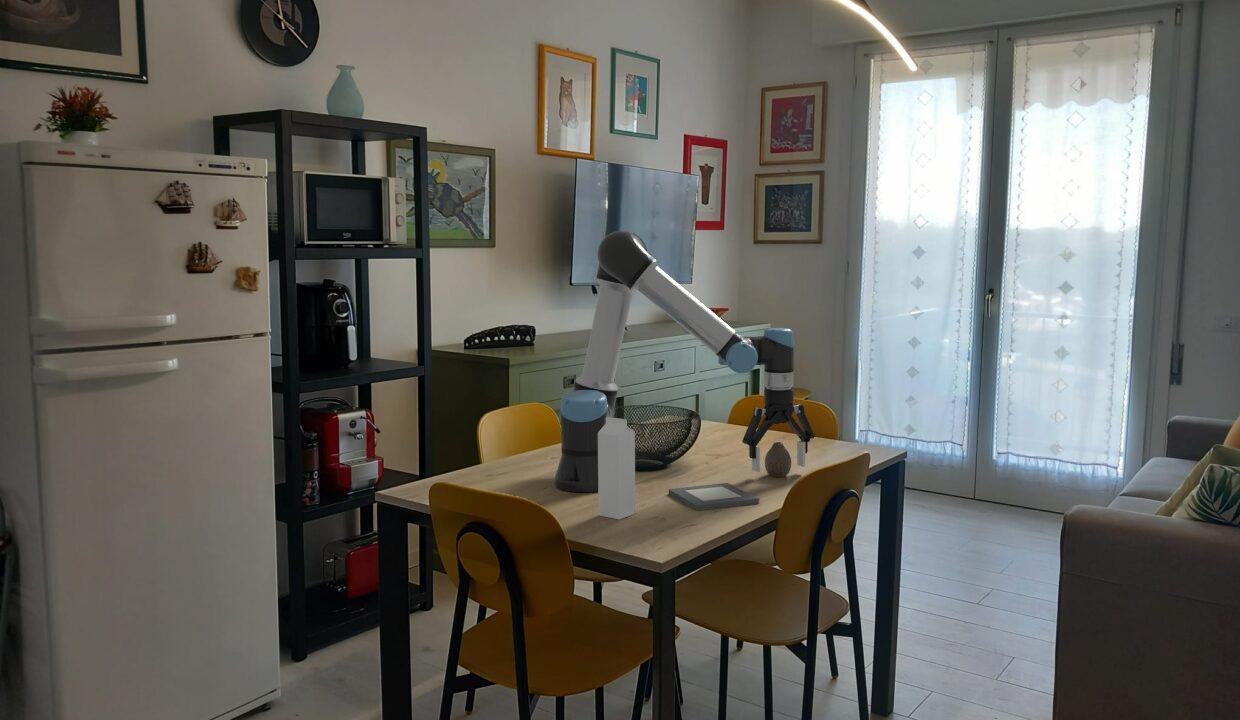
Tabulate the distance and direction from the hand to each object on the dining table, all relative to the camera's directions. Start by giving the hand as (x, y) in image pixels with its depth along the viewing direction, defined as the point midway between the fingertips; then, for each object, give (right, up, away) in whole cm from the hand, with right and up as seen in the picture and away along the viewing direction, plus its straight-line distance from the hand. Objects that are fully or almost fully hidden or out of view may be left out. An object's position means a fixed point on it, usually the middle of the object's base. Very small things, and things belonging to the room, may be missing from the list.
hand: (778, 468), depth 247 cm
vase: (0, -2, 0) cm, 2 cm away
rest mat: (-19, -5, -22) cm, 30 cm away
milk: (-42, -7, -35) cm, 55 cm away
